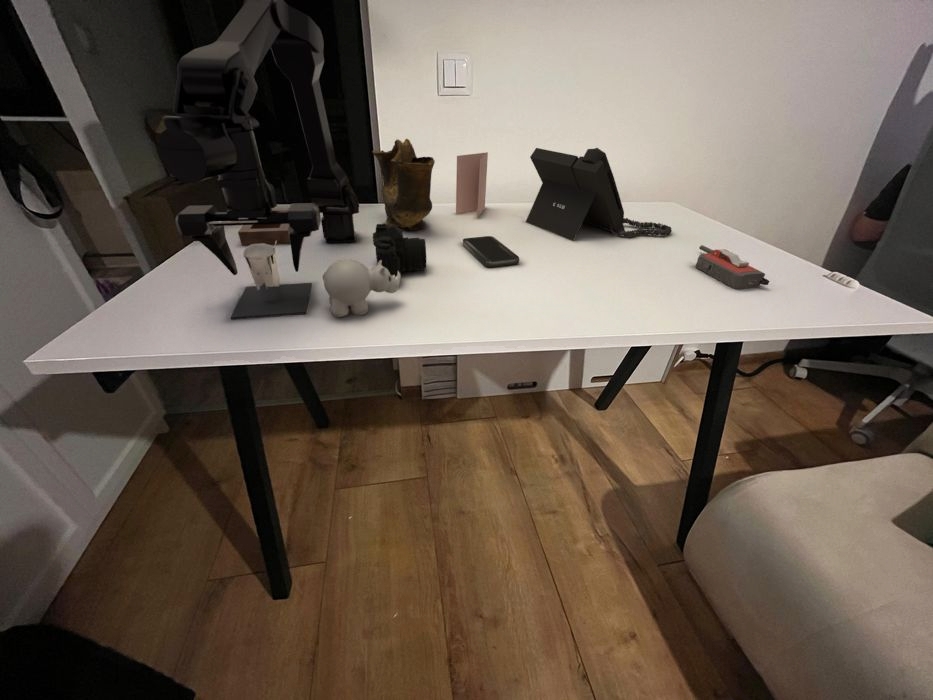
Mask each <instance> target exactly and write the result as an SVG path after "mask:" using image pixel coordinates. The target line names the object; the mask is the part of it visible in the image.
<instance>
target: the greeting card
mask: <svg viewBox="0 0 933 700" xmlns="http://www.w3.org/2000/svg"><path fill="white" fill-rule="evenodd" d="M488 157H489V152H479V153H470V154H461V155H456V179H455V180H456V183H455V184H456V187H455V188H456V189H455V215H459V214H463V213H464V214H465V213H468V212H472V211H477V213H476V214H477V216H476V219H479V217H480V215H481V214H482V213H483V212H484V210H485V209H486V194H487V193H486V192H487V174H488Z"/></svg>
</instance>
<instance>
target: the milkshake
mask: <svg viewBox="0 0 933 700" xmlns="http://www.w3.org/2000/svg"><path fill="white" fill-rule="evenodd" d="M276 242H277V240H276V241H275V244H274V245H273V246H274V247H273V246H272V245H271V244H264V243H261V244H251V245H247V246H246V247H245V249H244V250H243V257H244V259H245V261H246V264H247V266H248V268H249V271H250V274H251V277H252V279H253V281H254V285H255V286H256V287H257V290H258V292H259V295H260V298H261V300H262V301H264V302H274V301H278V300H279V299H281V298H282V291H281V285H282V284H281V280H280V274H279V273H280V272H279V268H278V267H279V266H278V260H277V253H276V252H277V251H276V247H277V244H276Z"/></svg>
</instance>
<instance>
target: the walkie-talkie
mask: <svg viewBox="0 0 933 700" xmlns="http://www.w3.org/2000/svg"><path fill="white" fill-rule="evenodd" d="M699 250H701V251H703V252H704V253H701V254H699V256H698V257H697V260H696V264H695V268H697V269H698V270H700V271H702V272H704V273H705V274H707V275H709V276H710V277H713V278H714V279H716V280H718V281H719V282H722V283H723V284H725V285H727V286H729V287H731V288H733V289H736V290H741V289H750V288H758V287H760V286H768V285H769V284H770V280H769V279H767V278H765V276H766V273H765V272H763V271H761V270H759V269H757V268H754V267H753V266H751V265H749V264H750V262H749V261H745V260H742V259H740V256H739V255H738V254H736V253H734V252H733V251H732V252H731V251H730V250H728V249H725V248H720V249H712V248H709V247H707V246H705V245H699Z"/></svg>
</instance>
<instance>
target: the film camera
mask: <svg viewBox="0 0 933 700" xmlns="http://www.w3.org/2000/svg"><path fill="white" fill-rule="evenodd" d="M372 244H373V246H374V247H375V256H376V257H375V259H376V265H377V264H378V262H379V261H380V260H382V263H381V265H382V266H383V267H385V268H386V269H387V270H388V271H389V273H390V274H391V276H393V275H395V277H396V276H397V274H398V271H399V273H400V274H403V273H404V272H405V271H406V272H411V271H421V270H424V269H425V270H426V269H427V245H426V240H425V238H420V237H408V236H407V237H406V236H405V237H404V232H403V229H402V228H401V227H399V226H395V225H390V226H388V225H387V224H386V223H377V224H376V226H375V232H373V233H372Z"/></svg>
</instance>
